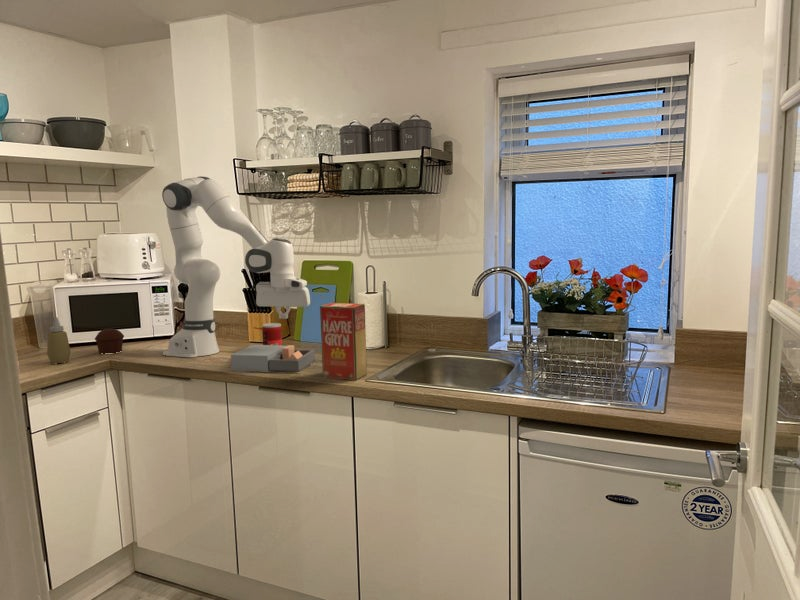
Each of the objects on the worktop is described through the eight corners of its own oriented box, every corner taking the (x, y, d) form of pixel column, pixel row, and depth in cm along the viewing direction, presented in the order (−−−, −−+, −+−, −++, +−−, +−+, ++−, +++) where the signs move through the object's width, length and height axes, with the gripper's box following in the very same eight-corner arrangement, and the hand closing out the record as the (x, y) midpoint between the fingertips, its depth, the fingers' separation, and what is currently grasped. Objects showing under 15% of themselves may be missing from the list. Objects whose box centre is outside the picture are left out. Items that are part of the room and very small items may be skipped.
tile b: (282, 348, 228) (288, 348, 227) (287, 345, 234) (294, 345, 233) (282, 364, 228) (289, 364, 228) (288, 360, 234) (294, 360, 234)
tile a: (292, 353, 219) (297, 359, 219) (298, 350, 225) (302, 355, 225) (281, 364, 220) (285, 369, 220) (286, 360, 226) (291, 365, 226)
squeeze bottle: (45, 363, 241) (40, 317, 239) (67, 359, 247) (63, 315, 245) (52, 366, 236) (47, 319, 234) (74, 362, 242) (70, 317, 240)
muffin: (92, 352, 260) (90, 329, 259) (119, 348, 268) (117, 325, 266) (101, 356, 252) (99, 332, 250) (129, 352, 259) (127, 329, 258)
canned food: (286, 349, 260) (284, 323, 258) (274, 352, 252) (273, 326, 251) (271, 347, 263) (270, 322, 261) (259, 351, 256) (258, 325, 254)
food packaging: (321, 377, 211) (318, 305, 208) (334, 371, 220) (331, 302, 216) (356, 380, 206) (354, 307, 203) (368, 374, 215) (366, 303, 211)
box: (269, 372, 220) (268, 359, 219) (287, 360, 238) (287, 349, 237) (298, 373, 218) (298, 360, 217) (315, 361, 236) (314, 350, 235)
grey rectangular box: (231, 371, 223) (230, 354, 222) (252, 359, 240) (251, 344, 240) (268, 372, 220) (267, 355, 219) (286, 360, 238) (285, 345, 237)
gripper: (252, 282, 229) (254, 319, 230) (306, 282, 226) (307, 320, 228) (258, 280, 235) (259, 316, 237) (311, 281, 232) (311, 317, 234)
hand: (283, 318), depth 232 cm, fingers closed
